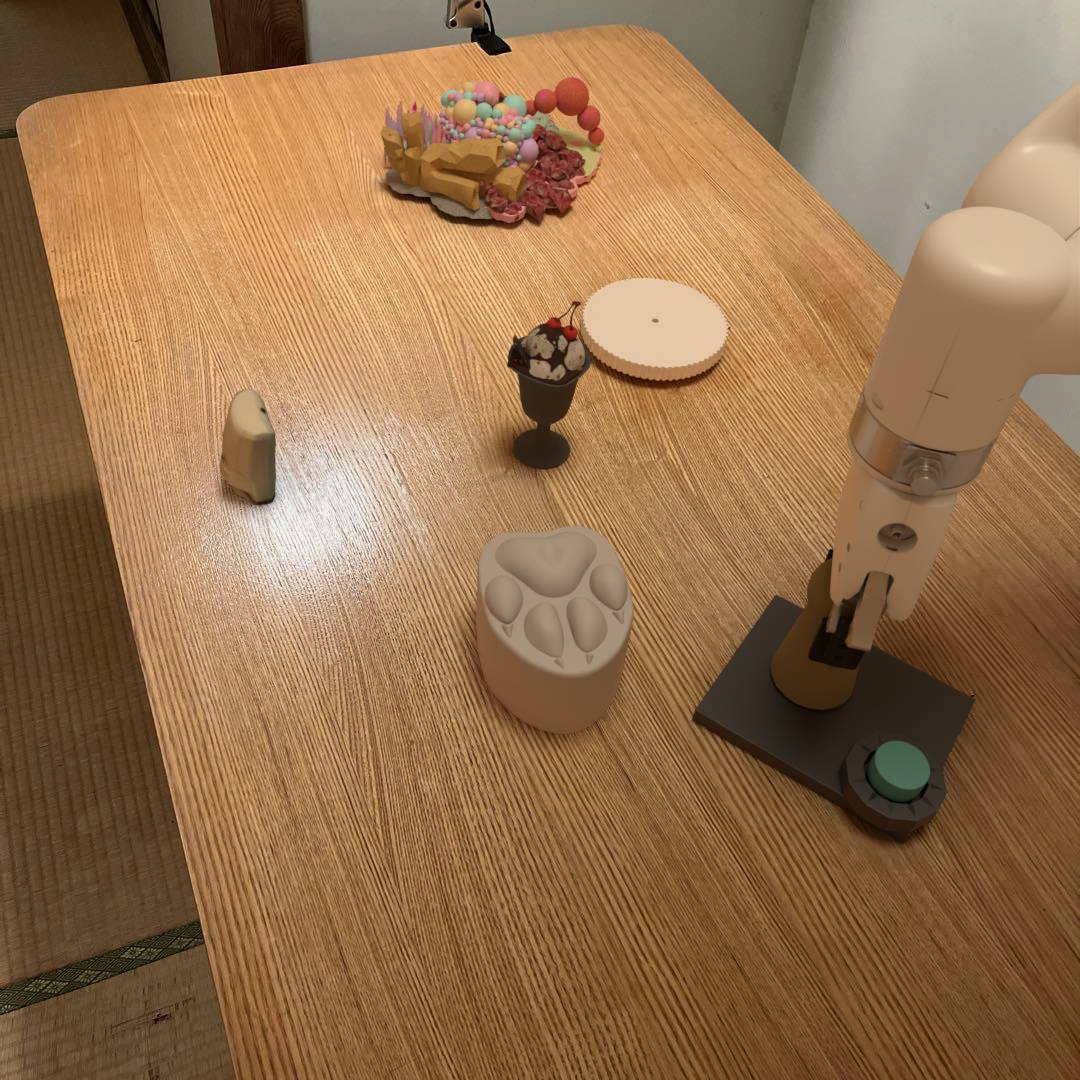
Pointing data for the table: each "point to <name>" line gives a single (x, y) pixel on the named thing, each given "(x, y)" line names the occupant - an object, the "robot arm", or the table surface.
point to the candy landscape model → (495, 151)
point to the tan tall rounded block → (249, 449)
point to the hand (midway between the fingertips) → (835, 625)
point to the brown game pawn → (791, 662)
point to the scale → (837, 725)
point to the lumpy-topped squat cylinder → (553, 625)
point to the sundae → (547, 387)
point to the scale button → (898, 771)
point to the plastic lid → (654, 329)
